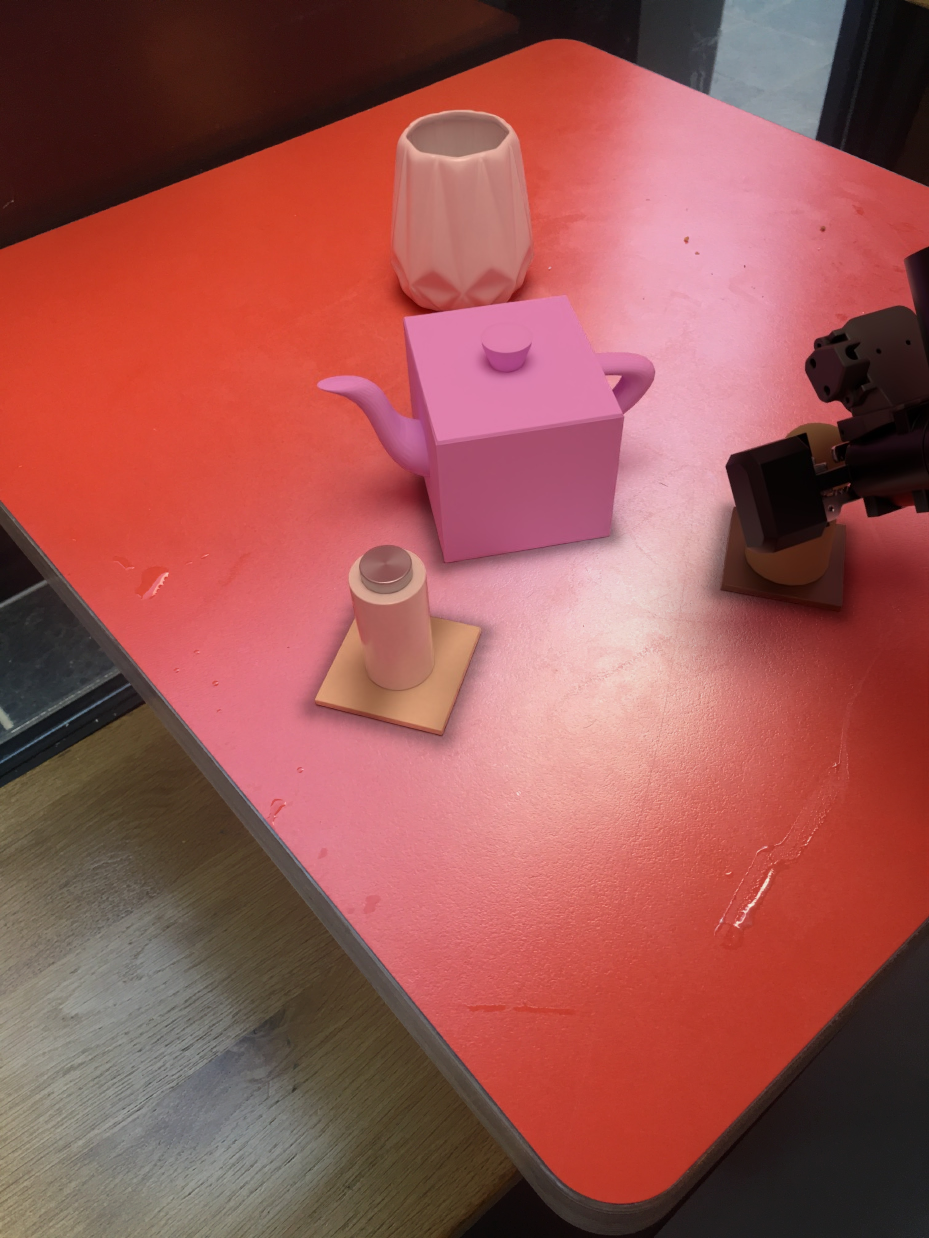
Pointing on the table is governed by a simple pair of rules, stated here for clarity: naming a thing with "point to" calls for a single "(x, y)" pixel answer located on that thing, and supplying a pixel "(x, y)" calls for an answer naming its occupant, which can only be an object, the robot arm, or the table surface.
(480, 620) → the table surface
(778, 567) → the cork
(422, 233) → the vase
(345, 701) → the pale mat
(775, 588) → the dark mat
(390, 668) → the salt shaker
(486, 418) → the teapot
